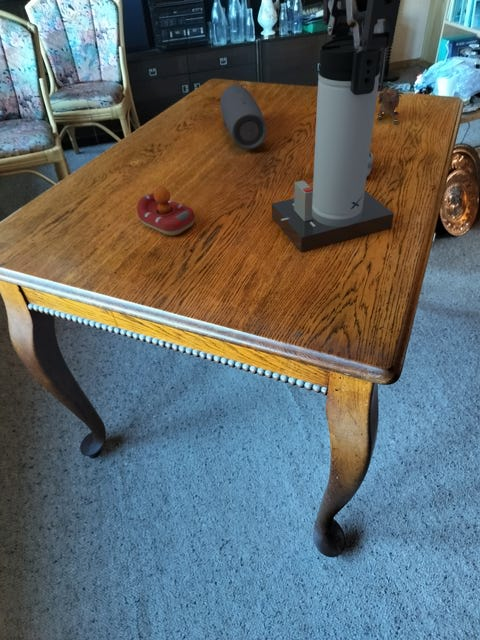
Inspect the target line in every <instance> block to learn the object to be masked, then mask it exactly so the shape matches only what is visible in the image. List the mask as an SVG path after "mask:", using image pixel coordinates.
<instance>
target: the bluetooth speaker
mask: <svg viewBox="0 0 480 640" xmlns="http://www.w3.org/2000/svg"><path fill="white" fill-rule="evenodd" d="M219 101H220V102H219V106H220V111H221V112H220V113H221V117H222V120H223V122H224V123H223V124H224V125H225V128H226V130H227V132H228V133H229V135H230V137H231V140H232V141H233V143H235V144H236V145H237V146H238V148H241V149H243V150H253V149H256V148H258V147H260V146H261V145H262V144H263V143H264V141H265V139H266V137H267V133H268V129H267V122H266V119H265V117H264V115H263V112H262V110H261V108H260V107H259V104H258V102H257V101H256V99H255V98H254V96H253V95H252V94H251V93H250V91H249V90H248V89H247V88H245V87H244V86H242V85H240V84H232V85H229V86H227V87H226V88H225V89H224V90H223V91H222V94H221V95H220V100H219Z"/></svg>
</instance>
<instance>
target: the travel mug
mask: <svg viewBox="0 0 480 640" xmlns="http://www.w3.org/2000/svg"><path fill="white" fill-rule="evenodd" d="M354 52H355V50H354V36H353V34H351V35H350V36H345V37H341V38H337V39H334V40H331V41H330V40H329V41H327V42H325V43H323V44H322V46H321V49H320V51H319V64H320V65H319V66H318V67H319V69H318V81H317V96H316V99H317V100H316V117H315V135H316V136H314V137H315V139H314V156H313V157H314V158H313V160H314V161H313V181H312V188H313V199H312V216H313V218H314V219H315V220H316V221H317V222H319V223H321V224H323V225H326V226H332V227H344V226H348V225H351V224H354V223H356V222H357V221H358V220H359V219H360V218H361V215H362V208H363V200H364V193H365V191H366V185H367V178H368V176H367V169H368V162H369V154H370V152H371V146H372V137H373V129H374V123H375V122H374V121H375V114H376V107H377V99H378V91H379V82H380V80H379V78H380V75H381V72H380V71H381V65H380V64H381V62H382V54H383V49H382V50H380V51H379V52H378V60H377V68H376V76H375V84H374V90H373V91H372V92H371V93H370V94H362V95H354V94H353V93H352V92H351V90H350V87H351V76H352V65H353V54H354Z"/></svg>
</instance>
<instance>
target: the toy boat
mask: <svg viewBox="0 0 480 640" xmlns="http://www.w3.org/2000/svg"><path fill="white" fill-rule="evenodd" d="M136 212H137V216H138V218H139V220H140V221H141V223H142V224H144V226H146V227H148V228H150V229H153V230H155V231H157V232H159V233H161V234H163V235H166V236H172V237H173V236H177V235H180V234H181V233H182V232H185V231H186V230H188V229H189V228H191V227H192V226H193V225H194V223H195V220H196V213H195V211H194V210H193V208H191V207H189V206H186V205H184V204H181V203H180V202H179V203H178V202H176V201H174V200H171V193H170V190H169V189H168V188H166V187H163V186H161V187H157V188H156V189H155V190H154V192H153V193H148V194H145V195H143V196H142V197H141V198H140V199H139V200H138V202H137V205H136Z"/></svg>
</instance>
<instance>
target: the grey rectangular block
mask: <svg viewBox="0 0 480 640" xmlns="http://www.w3.org/2000/svg"><path fill="white" fill-rule="evenodd" d="M293 190H294V191H293V198H294V211H295V212H296V213H297V214H298V215H299V216H300V217H301V218H302V220H303V221H304V222H305V221H309V220H313V216H312V199H313V186H311V185H309V184H308V182H306V181H305V180H304V179H303V180H298V181H294V186H293Z"/></svg>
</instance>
